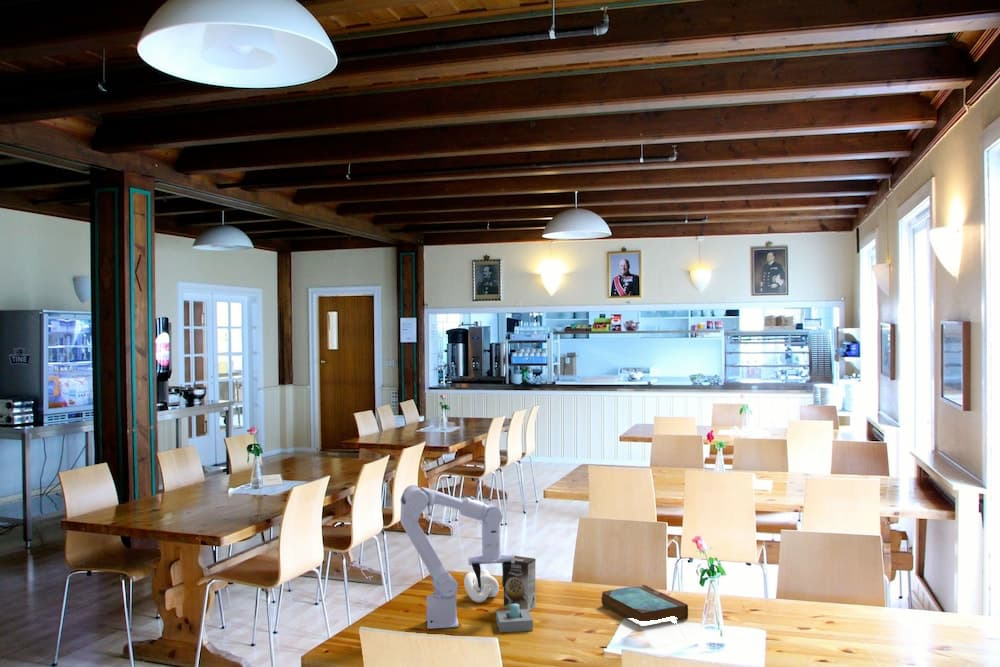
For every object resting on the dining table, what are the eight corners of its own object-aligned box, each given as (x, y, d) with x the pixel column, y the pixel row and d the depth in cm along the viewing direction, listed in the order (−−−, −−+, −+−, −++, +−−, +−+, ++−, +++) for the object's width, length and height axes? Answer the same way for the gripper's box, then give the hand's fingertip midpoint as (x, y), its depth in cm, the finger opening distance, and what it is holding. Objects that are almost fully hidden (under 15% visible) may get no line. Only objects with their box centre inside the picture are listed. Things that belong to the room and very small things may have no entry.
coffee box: (502, 608, 255) (502, 559, 255) (511, 602, 261) (511, 554, 261) (528, 613, 251) (527, 562, 251) (536, 606, 256) (535, 557, 257)
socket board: (499, 632, 234) (499, 622, 234) (496, 620, 244) (496, 610, 244) (532, 630, 236) (532, 620, 236) (527, 618, 245) (527, 609, 245)
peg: (510, 626, 238) (509, 606, 238) (509, 623, 241) (509, 603, 241) (519, 626, 238) (519, 606, 238) (519, 622, 241) (519, 603, 241)
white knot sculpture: (458, 595, 270) (458, 568, 270) (491, 591, 273) (491, 565, 274) (467, 605, 259) (466, 578, 259) (501, 601, 263) (501, 574, 263)
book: (688, 620, 244) (688, 604, 244) (641, 629, 236) (641, 612, 236) (644, 599, 264) (644, 584, 264) (600, 607, 257) (600, 591, 257)
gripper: (469, 547, 242) (469, 591, 242) (515, 545, 244) (516, 589, 244) (467, 541, 249) (468, 584, 249) (512, 539, 251) (513, 582, 251)
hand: (491, 586), depth 247 cm, fingers open, 7 cm apart
